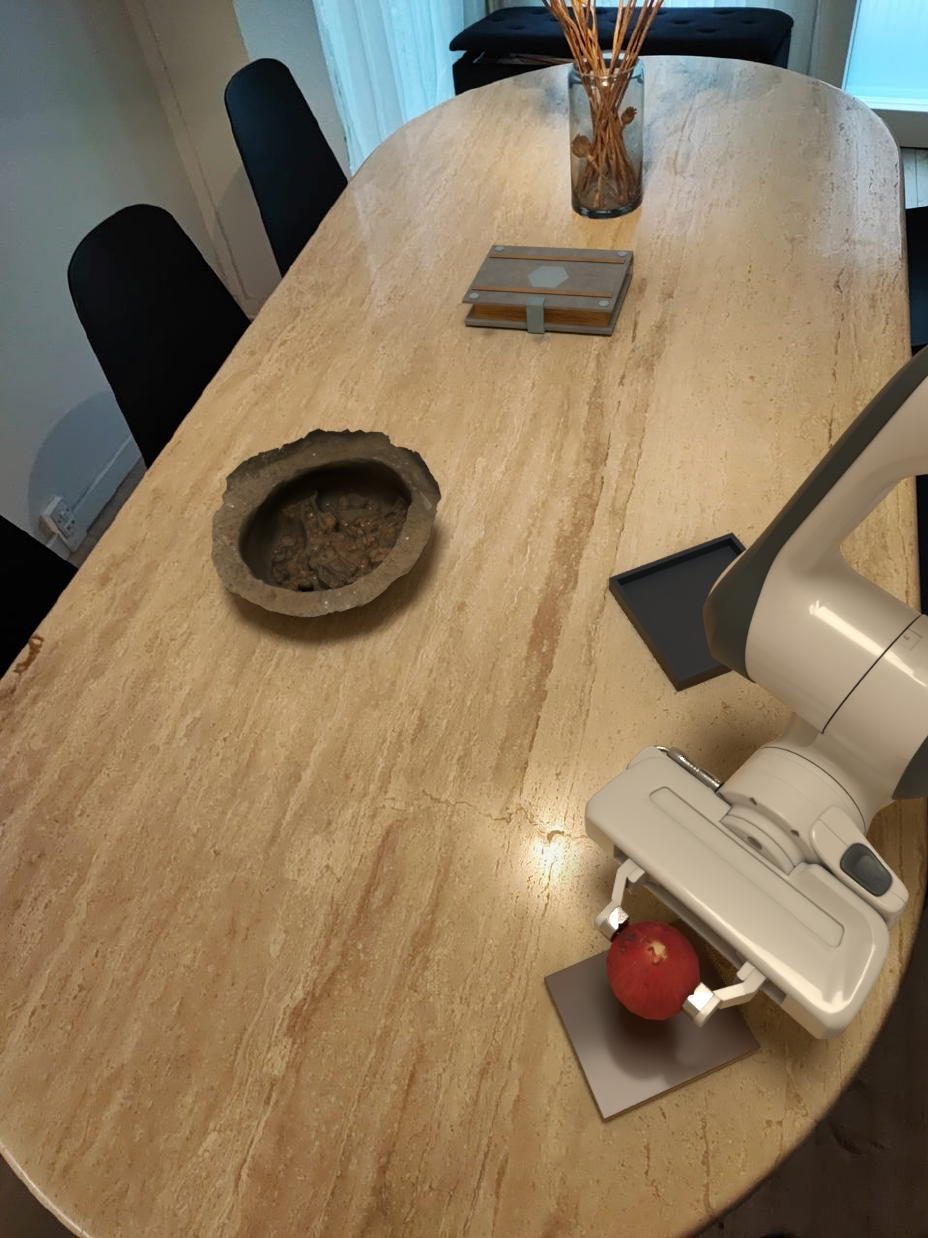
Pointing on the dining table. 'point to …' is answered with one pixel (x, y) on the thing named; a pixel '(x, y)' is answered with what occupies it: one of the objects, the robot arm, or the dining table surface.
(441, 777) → the dining table surface
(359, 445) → the stone bowl
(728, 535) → the tray
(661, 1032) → the board
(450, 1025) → the dining table surface
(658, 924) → the onion
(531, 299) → the book
